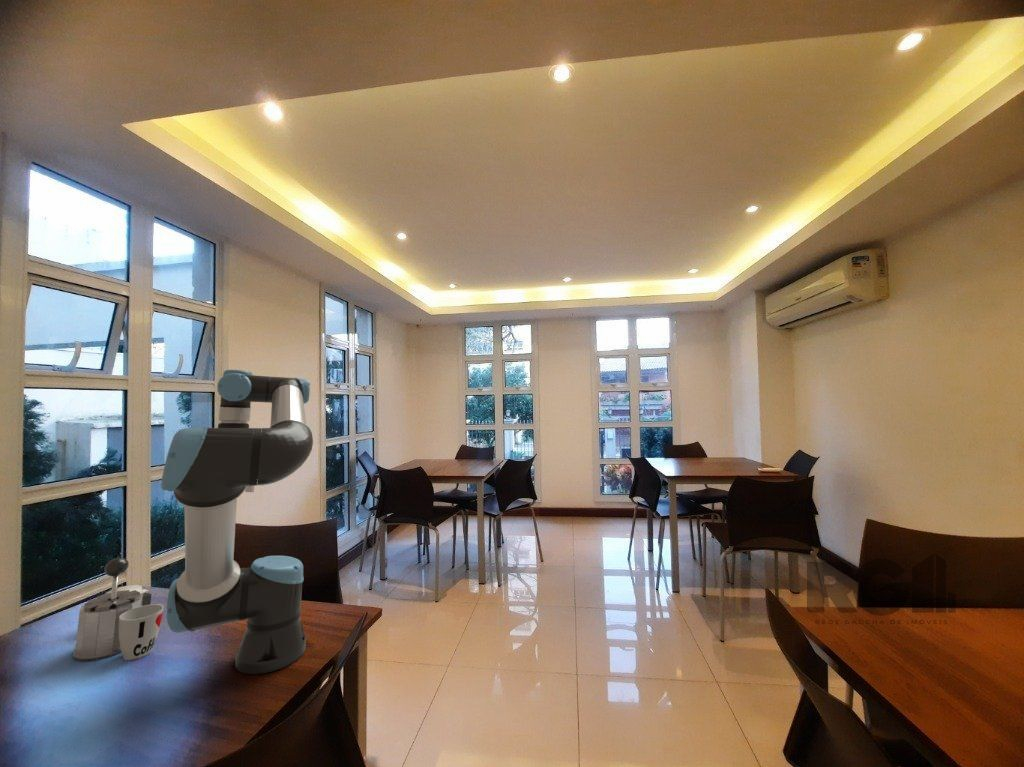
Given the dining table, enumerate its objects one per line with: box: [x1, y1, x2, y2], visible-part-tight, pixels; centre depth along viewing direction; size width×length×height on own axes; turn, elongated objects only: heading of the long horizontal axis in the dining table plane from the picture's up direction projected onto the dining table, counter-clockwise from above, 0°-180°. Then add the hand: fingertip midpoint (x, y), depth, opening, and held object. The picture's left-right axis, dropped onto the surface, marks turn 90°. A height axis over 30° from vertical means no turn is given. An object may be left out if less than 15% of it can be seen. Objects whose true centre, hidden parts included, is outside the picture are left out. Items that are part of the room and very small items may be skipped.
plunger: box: [104, 557, 130, 609], centre depth 101 cm, size 9×9×20 cm
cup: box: [119, 603, 165, 661], centre depth 98 cm, size 8×8×10 cm
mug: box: [105, 584, 149, 594], centre depth 111 cm, size 8×9×9 cm
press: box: [72, 590, 152, 662], centre depth 101 cm, size 12×14×12 cm
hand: (227, 495), depth 113 cm, fingers open, 13 cm apart
